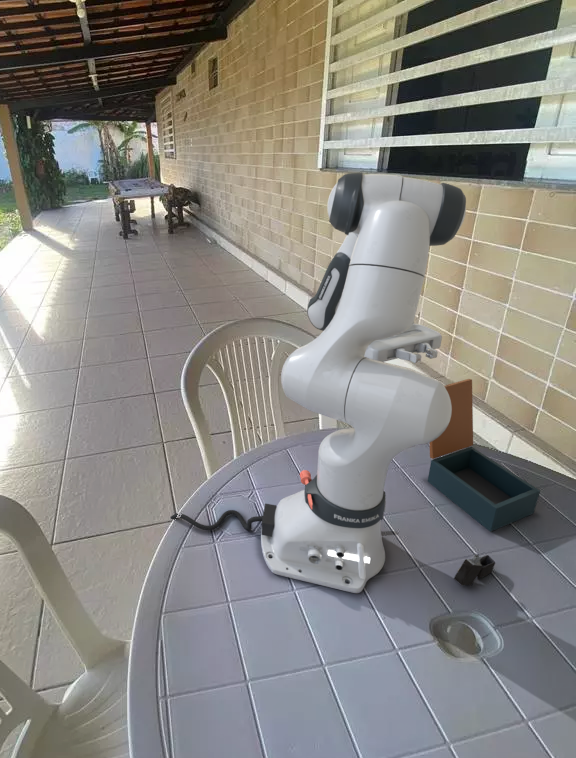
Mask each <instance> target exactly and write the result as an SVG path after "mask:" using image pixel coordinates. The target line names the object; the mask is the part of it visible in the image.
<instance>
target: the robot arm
mask: <svg viewBox="0 0 576 758" xmlns="http://www.w3.org/2000/svg"><path fill="white" fill-rule="evenodd" d="M326 206H327V207H326V209H327V210H326V211H327V216H328V219H329V220H328V222H329V223H330V225H331V226H332V227H333V229H335V230H337V231H339V232H341V233H344V235H346V236H345V238H344V239H343V242H342V243H341V245H340V246H339V248H338V250H337V251H336V253H335V255H333V258H331V260H330V262H329V264H328V266H327V268H326V269H325V273H324V274H323V277H322V278H321V279H322V280H321V282H320V284H319V286H318V289H317V291H316V294H315V295H314V296H313V297H311V298H310V299H309V301H308V304H307V309H306V314H307V318H308V321H309V322H310V323H311V325H312V326H313V327H314V328H315V329H316V330H319V331H322V332H321V333H320V334H319V335H318V336H317V337H316V338H314V339H313V340H311V341H310V342H308V343H306V344H304V345H303V346H300V347H297V348H296V349H294V351H292V352H291V353H290V354H289V355H288V356H287V358H286V359H285V361H284V362H283V366H282V368H281V371H280V372H281V374H280V382H281V383H280V384H281V387H282V390H283V393H284V395H285V397H286V398H287V399H289V400H291V401H293V402H294V403H296V404H297V405H299V406H300V407H303V408H304V409H306V410H308V411H310V412H313V413H316V414H319V415H321V416H324V417H327V418H330V419H333V420H336V421H339V422H342V423H345V424H347V425H349V426H351V427H347V428H341V429H338V430H335V431H333V432H330V433H329V434H328V435H327V436H325V437H324V438H323V439H322V441H321V442H320V444H319V447H318V452H317V468H316V470H317V471H316V475H315V476H314V477H313V478H312V473H311V472H310V471H309V470H308V469H307V470H306V469H303V470H301V471H300V473H299V477H300V483H301V484H302V485H304V489H302V490H299V491H297V492H295V493H293V494H290V495H287V496H285V497H283V498H281V499H280V501H278V503H277V504H271V503H265V504H264V508H263V514H262V515H260V516H256V515H255V516H251V517H250V518H248V520H247V521H245V519H244V517H243V515H242V514H241V513H240V512H239V511H237V510H235V509H229V510H226V511H224V512H223V513H222V514H221V516H220V517H219V518H218V520H217V521H216V522H215V523H213V524H210V525H205V524H202V523H199V522H198V521H196V520H194V519H193V518H192V517H189V516H188V515H186V514H184V513H181V514H182V515H181V517H180V518H179V519H182V520H184V521H185V522H187V523H189V524H190V525H192V526H194V527H195V528H197V529H199V530H202V531H214V530H216V529H218V528H219V527H220V526H222V524H223V523H224V521H225V519H226V518H228V516H233V515H234V516H235V517H237V520H238V522H239V523H240V525H241V526H242V527H243V529H244V530H245V531H251V529H252V527H253V525H252V524H253V523H256V522H261V530H260V548H261V552H262V556H263V560H264V562H265V564H266V566H267V567H268V569H269V571H270V572H271V573H272V574H274V575H277V576H281V577H285V578H288V579H289V578H290V579H293V580H297V581H303V582H306V583H310V584H314V585H319V586H323V587H327V588H331V589H336V590H340V591H344V592H347V593H352V594H360V593H362V591H363V590H364V588H365V586H366V584H367V582H368V581H369V580H370V579H371V578H374V577H375V576H377V575H378V573H379V572H380V571H381V570H382V569H383V567H384V565H385V562H386V551H385V547H384V543H383V535H382V520H383V519H384V514H385V512H386V504H387V503H386V502H387V501H386V499H387V497H386V496H387V495H386V494H387V493H386V491H385V485H386V479H387V476H388V471H389V469H390V468H389V467H390V465H391V463H392V461H393V460H394V458H395V457H396V456H398V455H399V454H400V453H402V452H404V451H405V450H408V449H410V448H413V447H418V446H423V445H428V444H429V443H430V442H432V441H433V440H435V439H437V438H438V437H439V436H440V435H441V434H442V433H443V432H444V431H445V429H446V428H447V426H448V424H449V422H450V418H451V412H452V406H451V400H450V397H449V394H448V392H447V390H446V388H445V387H444V386H445V385H444V384H443V382H442V381H440V380H438V379H435V378H433V377H431V376H429V375H426V374H425V373H422V372H419V371H417V370H415V369H413V368H409V367H407V366H402V365H397V364H394V363H389V361H393V360H397V359H399V360H403V361H409V362H411V363H413V364H416V363H420V362H421V361H422V354H425V357H426V358H428V359H429V360H430V359H436V358H438V353H439V352H438V350H437V349H440V348H441V346H442V342H443V341H442V339H443V336H442V334H441V333H440V332H439V331H437V330H435V329H433V328H431V327H428V326H426V325H424V324H421V323H415V320H416V314H417V312H418V311H417V310H418V305H419V302H420V297H421V293H422V289H423V285H424V281H425V277H426V272H427V267H428V259H429V254H430V253H429V251H430V247H437V246H443V245H446V244H447V243H449V242H450V241H452V240H454V238H455V236H456V235H457V233H458V232H459V230H460V229H461V227H462V226H463V224H464V220H465V218H466V212H467V197H466V195H465V193H464V192H463V190H462V188H460V187H458V186H455V185H453V184H450V183H446V182H441V183H437V182H433V181H429V180H423V179H419V178H415V177H414V178H413V177H407V176H403V175H399V174H389V173H387V174H386V173H385V174H383V173H367V174H365V173H363V172H362V171H361V172H360V171H359V172H350V173H349V172H348V173H344V174H343V175H341V177H339V178H338V179H337V182H336V183H335V184H334V186H333V187H332V189H331V191H330V193H329V196H328V199H327V205H326ZM421 353H422V354H421ZM178 513H179V512H177V513H174V514H172V515H171V516H170V519H171V520H175V519H177V518H176V517H177V515H178ZM179 516H180V515H179Z"/></svg>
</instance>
